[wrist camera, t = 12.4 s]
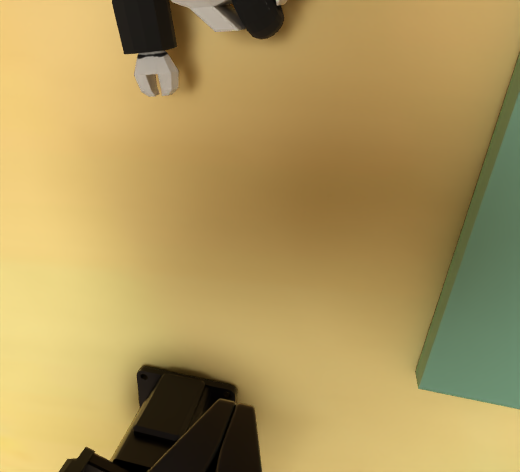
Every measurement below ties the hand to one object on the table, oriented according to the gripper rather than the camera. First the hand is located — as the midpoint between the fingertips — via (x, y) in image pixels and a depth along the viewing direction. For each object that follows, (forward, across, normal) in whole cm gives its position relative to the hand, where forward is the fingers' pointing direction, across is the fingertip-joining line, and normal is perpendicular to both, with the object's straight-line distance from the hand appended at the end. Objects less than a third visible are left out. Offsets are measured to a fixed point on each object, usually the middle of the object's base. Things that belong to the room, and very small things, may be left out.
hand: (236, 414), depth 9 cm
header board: (+12, -14, -2) cm, 18 cm away
